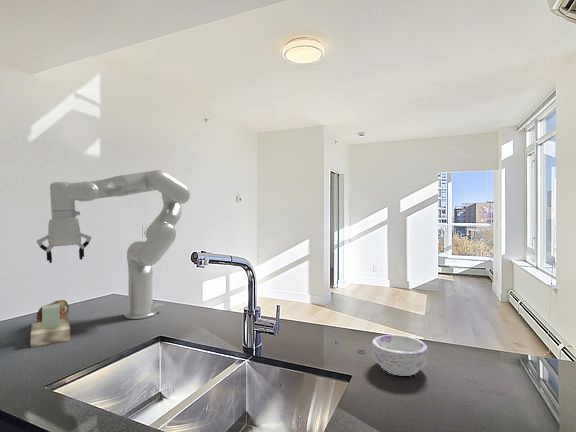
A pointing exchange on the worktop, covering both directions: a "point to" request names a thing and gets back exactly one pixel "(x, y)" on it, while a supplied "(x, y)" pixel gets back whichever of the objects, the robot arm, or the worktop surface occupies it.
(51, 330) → the riser block
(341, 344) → the worktop surface
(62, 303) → the tin
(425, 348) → the white round bowl
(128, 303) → the robot arm
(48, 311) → the block
